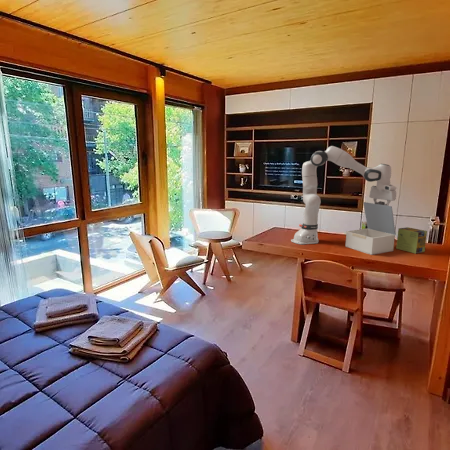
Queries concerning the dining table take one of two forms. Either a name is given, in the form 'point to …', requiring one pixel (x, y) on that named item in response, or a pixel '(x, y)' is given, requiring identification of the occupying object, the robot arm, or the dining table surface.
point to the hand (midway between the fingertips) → (381, 205)
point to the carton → (370, 241)
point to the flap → (379, 217)
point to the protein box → (411, 240)
